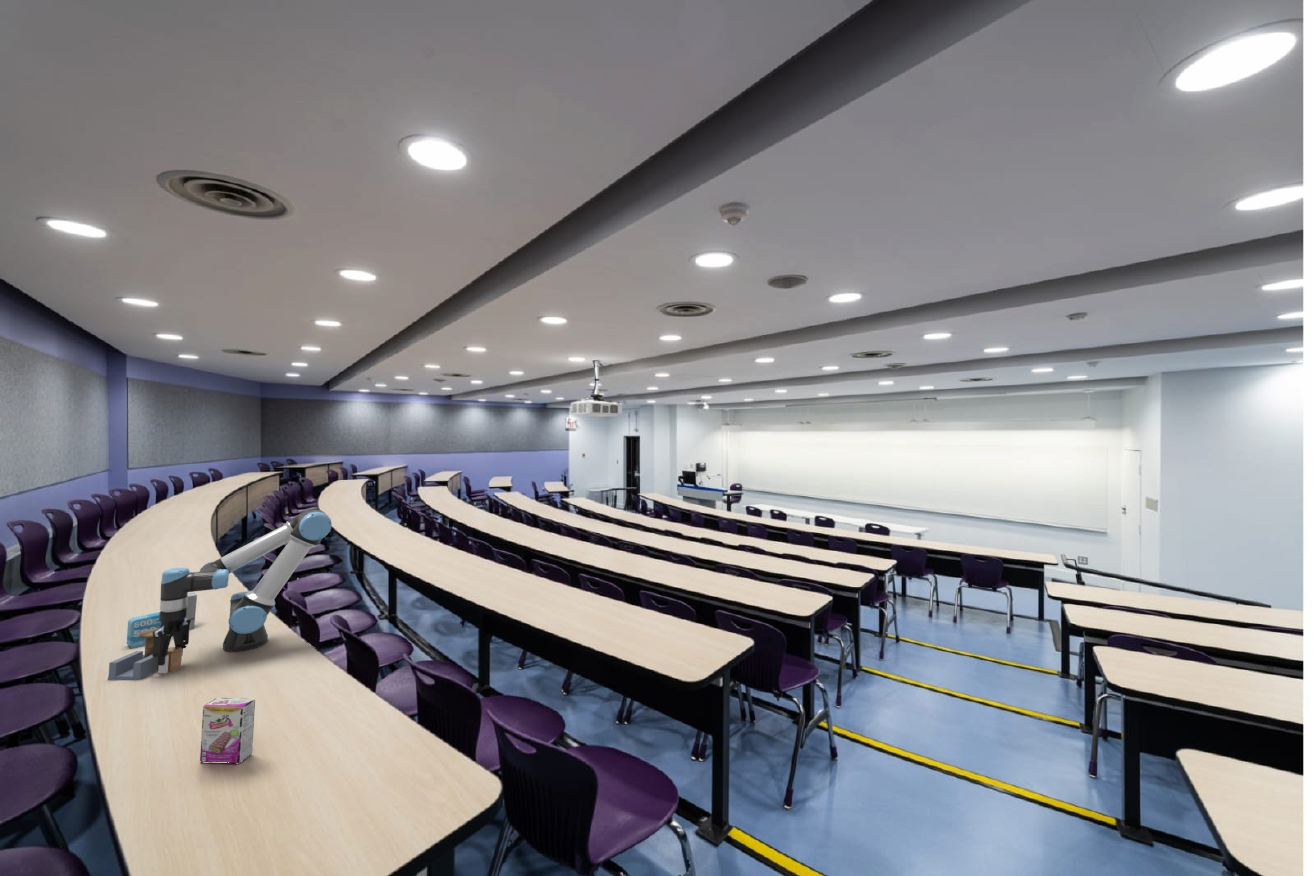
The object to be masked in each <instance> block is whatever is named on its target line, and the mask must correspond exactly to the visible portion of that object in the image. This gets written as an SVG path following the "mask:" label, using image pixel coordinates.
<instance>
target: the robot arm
mask: <svg viewBox="0 0 1313 876" xmlns="http://www.w3.org/2000/svg"><path fill="white" fill-rule="evenodd" d="M332 524H333V523H332V519H331V518H330V517H329V515H328V514H327V513H326V512H324V511H323V510H321V509H318V508H311V509H307V510H304V511H303V512H301V513H299V514H298V515H296V516H294V517H292V518H290V519H288V520H287V521H286V523H285V524H284V525H282V526H279V527H278V528H276V529H274V530H272V531H270V532H268V533H266V534H264V535H263V536H260V537H258V538H256V539H254V540H253V541H251V542H249V543H247V544H245V545H243V546H241V547H239V548H237V549H235V550H233V551H231V552H230V553H227V554H226V555H224V556H222V557H220V558H218V559H215V560H214V561H211V562H207V563H205V564H204V565H203V566H201V568H199V569H200V570H199V571H196V572H195V571H194V572H192V571H191V572H190V569H189V568H188V567H174V568H173V567H172V568H169V569H166V570H165V571H163V572H162V574H161V581H160V603H159V604H160V605H159V610H160V611H159V612H160V613H159V621H160V622H161V623H162V624H161V627H160V629H159V630H158V631H154V632H153V637H154V641H153V655H152V656H153V657H158V665H159V669H158V671H157V672H158V674H168V673H169V672H168V659H169V655H167V651H168V648H170V644H171V639H173V643H174V647H182V649H181V662H182V661H183V659H182V657H183V654H184V653H183V652H184V649H186V648H187V645H189V642H190V641H189V640H190V639H189V638H190V629H189V625H190V622H191V620H190V619H184V618H185V617H186V614H187V608H186V606H187V598H188V594H189V593H195V592H203V591H211V590H218V589H219V590H220V589H224V588H227V587H228V586H229V578H230V577H229V575H230V573H231V574H232V572H235V571H237V570H239V569H240V568H242V567H244V566H246V565H248V564H250V563H252V562H253V561H255V560H258V559H259V558H261V557H263V556H265V555H266V554H268V553H270V552H273V551H275V550H276V549H278V548H280V547H282V546H283V545H285V544H286V545H285V547H284V548H283V549H282V550H281V552H280V553H279V555H278V556H277V557H276V558H275V560H274V561H273V562H272V564H270V567H269V568H268V569H267V570H266V572H265V573H264V575H263V576H262V578H261V579H260V580H259V582H258V583H257V584H256V585H255V587H254V588H253V590H247V591H241V592H236V593H233V594H232V595H231V596H230V600H229V602H230V609H229V618H228V626H229V627H228V631H227V633H226V635H225V638H224V640H223V642H222V650H223V651H225V652H242V651H247V650H251V649H256V648H258V647H261V646H264V645H265V644H267V642H268V641H269V635H268V633H267V629H266V626H265V623H266V622H267V621H266V620H267V618H268V615H269V613H270V612H272V610H273V608H274V606H276V601H275V599H276V597H277V595H279V593H280V591H282V589H283V587H284V586H285V585H286V584H287V582H288V580H289V579H290V578H291V576H292V575H293V573H294V572H295V570H296V569H297V568H298V566H299V565H300V564H301V562H302V561H303V559H305V557H306V555H308V552H309V551H310V550H311V549H312V548H313V547H314V548H315V547H317V546H318V545H319V544H320V543H321V541H322V539H323V538H325V537H326V536H327V535H328V534H329V533H330V532H331V529H332ZM165 634H166V635H165Z"/></svg>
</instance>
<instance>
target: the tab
mask: <svg viewBox="0 0 1313 876" xmlns="http://www.w3.org/2000/svg"><path fill="white" fill-rule="evenodd" d="M181 649H182V647H175V646H169V648H168V651H167V655H169V659H168V672H167V673H172V672H175V671H176V670H179V669H181V666H182V661H181Z"/></svg>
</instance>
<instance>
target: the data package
mask: <svg viewBox="0 0 1313 876" xmlns="http://www.w3.org/2000/svg"><path fill="white" fill-rule="evenodd" d="M159 613H160V611H158V612H154V613H149V614H145V615H144V614H143V615H139V616H134V617H132V618H129V620H128V621H127V630H126V631H127V634H126V635H127V636H126V644H127V646H128V647H130V648H132V649H136V648H140V647H145V639H146V638H139V637H138V635H139V633H140V632H143V631H146V630H149V629H155V628H160V627H161V624H162V623H161V622H160V621H159ZM165 635H166V634H165Z"/></svg>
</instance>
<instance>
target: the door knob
mask: <svg viewBox="0 0 1313 876" xmlns="http://www.w3.org/2000/svg"><path fill="white" fill-rule="evenodd" d="M159 629H160V628H155V629H149V630H146V631H143V632H140V633H139V635H138V637H139V638H146V639H145V646H144V654H143V659H144V658H146V657H148V656H150V655H153V641H154V637H153V632H154V631H158V630H159Z"/></svg>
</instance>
